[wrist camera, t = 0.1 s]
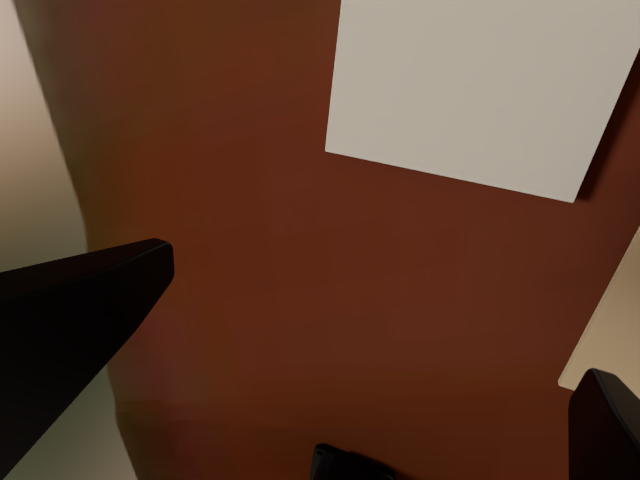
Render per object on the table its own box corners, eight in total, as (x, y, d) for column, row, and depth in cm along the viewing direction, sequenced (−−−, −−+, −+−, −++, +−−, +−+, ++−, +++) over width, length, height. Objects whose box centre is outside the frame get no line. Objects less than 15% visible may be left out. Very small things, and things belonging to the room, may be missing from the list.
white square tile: (570, 196, 20) (573, 202, 20) (329, 147, 23) (324, 151, 23) (708, -132, 14) (719, -139, 14) (363, -144, 17) (358, -150, 17)
